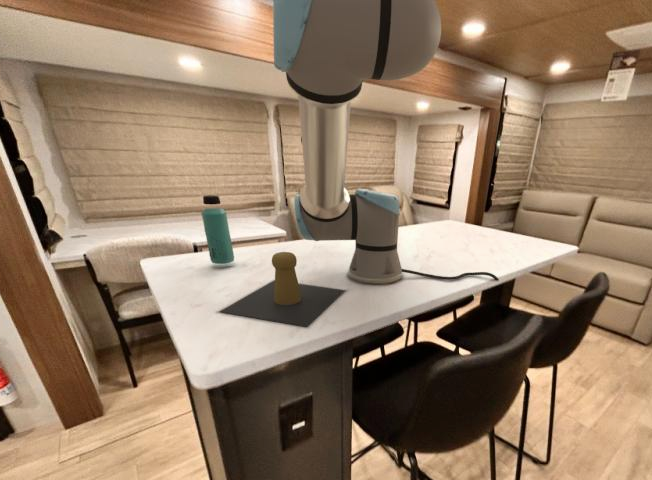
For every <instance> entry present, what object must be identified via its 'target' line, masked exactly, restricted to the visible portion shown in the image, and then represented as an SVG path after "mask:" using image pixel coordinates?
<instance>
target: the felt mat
mask: <svg viewBox="0 0 652 480" xmlns="http://www.w3.org/2000/svg"><path fill="white" fill-rule="evenodd" d="M298 285H299V290H300V294H301V301H300V302H298V303H296V304H292V305H279V304H277V303H275V302H274V292H275V279H274V280H273V281H271V282H269V283H267V284H266V285H264V286H261V287H260V288H258V289H257V290H255V291H253V292H251V293H249V294H248V295H246V296H244V297H243V298H241V299H239V300H237V301H235V302H234V303H232V304H230V305H228V306H227V307H225V308H223V309H221V310H220V311H219V313H222V314H229V315H235V316H239V317H245V318H251V319H256V320H257V319H258V320H263V321H269V322H273V323H274V322H275V323H280V324H285V325H291V326H298V327H303V328H308V327H309V326H310V325H311V324H312V323H313V322H314V321H315V320H316V319H317V318H318V317H320V316H321V314H323V312H325V310H326V309H328V308H329V307H330V306H331V305H332V304H333V303H334V302H335V301H336V300H337V299H338V298H339V297H340V296H341V295H342V294H343V293H344V292H345V289H339V288H331V287H325V286H324V287H323V286H316V285H309V284H302V283H298Z"/></svg>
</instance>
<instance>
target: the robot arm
mask: <svg viewBox="0 0 652 480" xmlns="http://www.w3.org/2000/svg"><path fill="white" fill-rule="evenodd" d="M272 6H273V7H272V25H273V26H272V28H273V29H272V31H273V32H272V33H273V35H272V36H273V65H274V68H275V69H276V70H279V71H281V73H285V77H286V81H287V84H288V87H290V89H291V90H292V92H294V94H296V95H297V96H298V97H297V99H298V108H299V109H298V110H299V122H300V134H301V135H300V142H301V146H302V159H303V172H304V184H305V185H303V187H302V188H301V190H300V192H299V193H296V195H295V196H294V200H293V201H294V215H295V219H296V226H297V229H298V230H297V231H298V233H299V235H300V237H301V238H302V239H304V240H306V241H314V242H319V241H320V242H321V241H322V242H324V241H355V248H354V252H353V255H352V259H351V262H350V265H349V268H348V276H349V278H350V279H352V281H355V282H358V283H362V284H368V285H387V284H392V283H396V282H398V281H400V280H401V279H402V277H403V273H407V274H410V275H411V274H412V275H415V276H416V275H417V276H421V277H426V278H432V279H437V280H445V281H446V280H447V281H455V280H459V279H462V278H464V277H468V276H488V277H491V278H493V279H494V280H495V281H500V279H499V278H498V276H497V275H495V274H494V273H491V272H487V271H476V272H475V271H474V272H464V273H461V274H459V275H456V276H442V275H435V274H431V273H425V272H419V271H415V270H410V269H404V268H402V263H401V260H400V257H399V253H398V239H399V222H400V221H399V220H400V215H401V213H400V199H399V197H398V196H396V195H395V194H391V193H387V192H382V191H377V190H371V189H366V188H356V189H355V191H354V194H349V192H348V190H347V189H346V188H345V182H346V181H345V179H346V168H347V155H348V143H349V129H350V116H351V106H352V105H351V104H352V102H353V101H355V100H356V99H357V98H358V97H359V96H360V94H361V92H362V87H363V80H374V81H375V80H376V81H399V80H403V79H406V78H408V77H412V76H414V75H416V74H418V73H419V72H421V71H422V70H423V69H425V68H426V67H427V66H428V65H429V64H430V63H431V61H432V60H433V58H434V57H435V55H436V53H437V51H438V48H439V45H440V42H441V37H442V19H441V14H440V10H439V7H438V5H437V2H436V1H435V0H272Z"/></svg>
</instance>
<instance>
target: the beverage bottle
mask: <svg viewBox="0 0 652 480" xmlns="http://www.w3.org/2000/svg"><path fill="white" fill-rule="evenodd" d="M202 201H203V205H221V200H220V196H219V195H209V194H208V195H203V196H202ZM200 214H201V217H202V222H203V229H204V233H205V238H206V244H207V248H208V254H209V259H210V262H211V263H212V264H214V265H215V264H216V265H223V264H231V263H232V262H234V261H235V255H234V249H233V242H232V238H231V234H230V228H229V221H228V215H227V211H226V210H225V209H223V208H220V207H207V208H206V207H205V208H204V209H203V210H202V211H201V213H200Z"/></svg>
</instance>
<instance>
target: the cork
mask: <svg viewBox="0 0 652 480" xmlns="http://www.w3.org/2000/svg"><path fill="white" fill-rule="evenodd" d="M297 261H298V260H297V256H296V255H295V254H294V253H293V252H290V251H280V252H276V253H274V254H273V255H272V256H271V265H272V267H273V268H274V280H275V292H274V302H275V303H277V304H279V305H292V304H296V303H298V302H300V301H301V294H300V290H299V285H298V284H299V281H298V277H297V276H298V275H297V272H296V266H297V263H298V262H297Z"/></svg>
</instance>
